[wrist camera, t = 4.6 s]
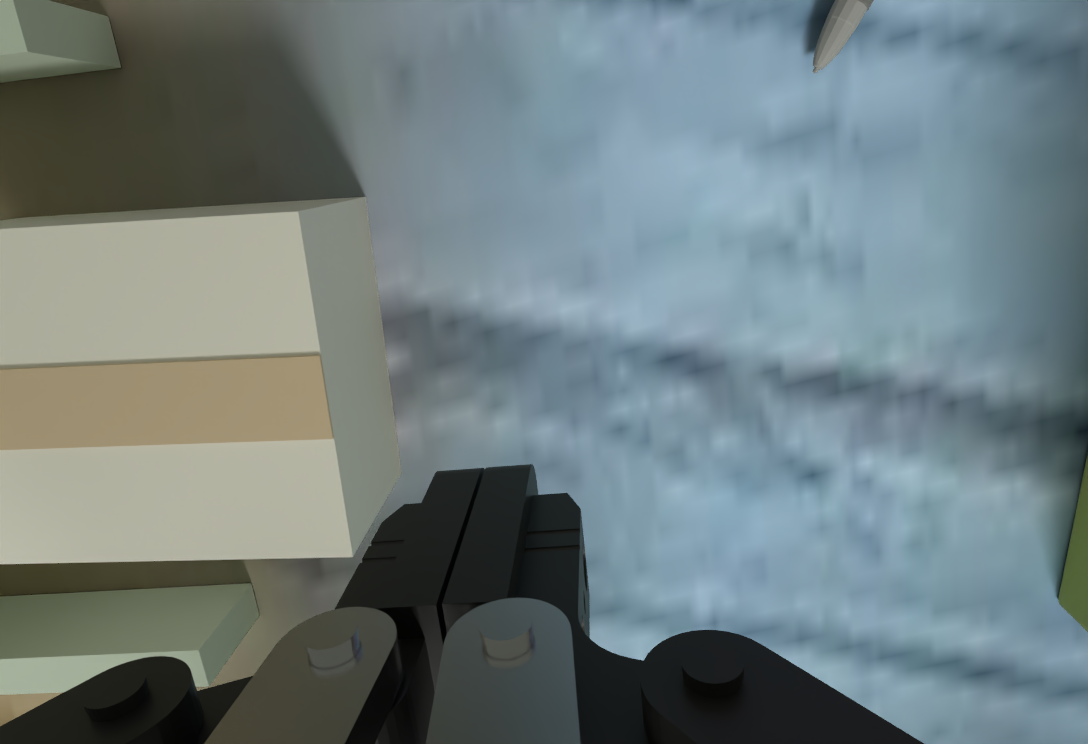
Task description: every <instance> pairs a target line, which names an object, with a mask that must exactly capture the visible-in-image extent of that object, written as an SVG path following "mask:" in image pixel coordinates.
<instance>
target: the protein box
mask: <svg viewBox="0 0 1088 744" xmlns="http://www.w3.org/2000/svg"><path fill="white" fill-rule="evenodd" d="M1058 600H1059V604H1060V605H1061V606H1062V607H1063V608H1064V609H1065V610H1066V611H1067V612H1068V613H1069V614H1070V615H1071V616H1072V617H1073V618H1074V619H1075V620H1076V621H1077V622H1078V623H1079V624H1080V625H1081V626H1082V627H1083V628H1084V629H1085V630H1086V631H1087V632H1088V454H1087V459H1086V464H1085V469H1084V474H1083V479H1082V484H1081V489H1080V494H1079V499H1078V504H1077V509H1076V514H1075V519H1074V524H1073V529H1072V533H1071V538H1070V544H1069V549H1068V554H1067V558H1066V563H1065V568H1064V574H1063V579H1062V583H1061V588H1060V593H1059V598H1058Z"/></svg>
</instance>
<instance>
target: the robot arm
mask: <svg viewBox="0 0 1088 744" xmlns="http://www.w3.org/2000/svg"><path fill="white" fill-rule="evenodd" d="M0 744H924V743H922V742H920V741H919V740H917V739H915V738H914V737H912V736H911V735H909V734H907V733H906V732H904V731H902V730H901V729H899V728H897V727H896V726H894V725H892V724H891V723H889V722H888V721H886V720H884V719H883V718H881V717H879V716H878V715H876V714H874V713H873V712H871V711H870V710H868V709H866V708H865V707H863V706H861V705H860V704H858V703H856V702H855V701H853V700H851V699H850V698H848V697H847V696H845V695H843V694H842V693H840V692H838V691H837V690H835V689H833V688H832V687H830V686H829V685H827V684H825V683H824V682H822V681H820V680H819V679H817V678H815V677H814V676H812V675H810V674H809V673H807V672H806V671H804V670H802V669H801V668H799V667H797V666H796V665H794V664H792V663H791V662H789V661H788V660H786V659H784V658H783V657H781V656H779V655H778V654H776V653H774V652H773V651H771V650H769V649H768V648H766V647H765V646H763V645H761V644H759V643H758V642H756V641H754V640H752V639H750V638H747V637H744V636H742V635H739V634H735V633H731V632H725V631H718V630H698V631H690V632H685V633H681V634H678V635H675V636H672V637H670V638H668V639H666V640H664V641H662V642H661V643H659V644H658V645H657V646H655V647H654V648H653V649H652V650H651V651H650V652H649V653H648V655H647V656H646V658H645V660H644V661H642V660H637V659H632V658H628V657H624V656H620V655H617V654H614V653H612V652H609V651H607V650H605V649H603V648H602V647H600V646H598V645H597V644H596V643H594V642H593V641H592V640H591V639H590V638H589V586H588V576H587V567H586V557H585V547H584V538H583V528H582V518H581V509H580V508H579V506H578V505H577V504H576V503H575V502H574V500H573V499H572V498H571V497H570V496H569V495H568V493H560V494H545V495H538V489H537V481H536V475H535V470H534V466H533V465H532V464H530V465H516V466H502V467H489V468H486V469H484V468H477V469H463V470H449V471H437V472H436V473H435V475H434V477H433V479H432V482H431V484H430V486H429V488H428V490H427V492H426V495H425V497H424V499H423V501H422V503H417V504H404V505H403V506H402V507H401V508H399V509H398V510H397V511H396V512H394V513H393V514H392V515H391V516H389V517H388V518H387V519H386V520H384V521H383V522H382V523H381V525H380V527H379V529H378V531H377V533H376V534H375V536H374V538H373V540H372V542H371V546H369V547H368V549H367V551H366V553H365V555H364V556H363V558H362V563H360V564H359V566H358V567H357V569H356V571H355V573H354V575H353V577H352V578H351V580H350V582H349V584H348V586H347V588H346V589H345V591H344V593H343V595H342V597H341V599H340V600H339V602H338V604H337V606H336V608H335V610H332V611H328V612H325V613H322V614H319V615H317V616H314V617H312V618H310V619H308V620H306V621H304V622H303V623H301V624H299V625H297V626H296V627H295V628H293V629H292V630H290V631H289V632H288V633H287V634H286V635H285V636H284V637H282V638H281V640H280V641H279V642H278V643H277V644H276V645H275V647H274V648H273V650H272V651H271V652H270V654H269V655H268V656H267V658H266V659H265V661H264V662H263V663H262V665H261V666H260V667H259V669H258V670H257V672H256V673H255V674H254V676H251V677H248V678H244V679H240V680H237V681H233V682H229V683H225V684H222V685H218V686H214V687H211V688H207V689H203V690H200V691H197V689H196V686H195V683H194V680H193V676H192V673H191V670H190V668H189V666H188V665H187V664H186V663H185V662H184V661H182V660H180V659H177V658H174V657H168V656H154V657H146V658H141V659H137V660H132V661H129V662H126V663H123V664H120V665H118V666H115V667H113V668H110V669H108V670H106V671H104V672H102V673H100V674H98V675H96V676H94V677H92V678H90V679H88V680H86V681H85V682H83V683H81V684H79V685H77V686H75V687H73V688H71V689H70V690H68V691H66V692H64V693H62V694H60V695H58V696H56V697H55V698H53V699H51V700H49V701H47V702H45V703H43V704H42V705H40V706H38V707H36V708H34V709H32V710H30V711H28V712H27V713H25V714H23V715H21V716H19V717H17V718H15V719H13V720H12V721H10V722H8V723H6V724H4V725H2V726H0Z"/></svg>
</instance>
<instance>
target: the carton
mask: <svg viewBox="0 0 1088 744" xmlns="http://www.w3.org/2000/svg"><path fill="white" fill-rule="evenodd" d="M401 474H402V471H401V464H400V456H399V448H398V441H397V433H396V425H395V418H394V410H393V402H392V394H391V387H390V379H389V371H388V364H387V356H386V348H385V341H384V333H383V325H382V318H381V310H380V302H379V295H378V287H377V279H376V272H375V264H374V256H373V249H372V241H371V233H370V226H369V218H368V210H367V203H366V197H353V198H336V199H319V200H303V201H286V202H270V203H253V204H236V205H220V206H203V207H187V208H170V209H154V210H137V211H120V212H104V213H87V214H71V215H54V216H37V217H23V218H15V219H7V220H0V564H38V563H87V562H137V561H186V560H235V559H284V558H333V557H353V556H354V554H355V553H356V551H357V549H358V547H359V546H360V544H361V542H362V541H363V539H364V537H365V535H366V534H367V532H368V530H369V529H370V527H371V525H372V523H373V522H374V520H375V518H376V517H377V515H378V513H379V511H380V510H381V508H382V506H383V505H384V503H385V501H386V499H387V498H388V496H389V494H390V493H391V491H392V489H393V487H394V486H395V484H396V482H397V481H398V479H399V477H400V475H401Z"/></svg>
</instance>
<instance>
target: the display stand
mask: <svg viewBox="0 0 1088 744" xmlns="http://www.w3.org/2000/svg"><path fill="white" fill-rule="evenodd" d="M116 68H121V65H120V61H119V57H118V53H117V49H116V45H115V41H114V37H113V33H112V29H111V25H110V21H109V17H108V16H105V15H101V14H98V13H94V12H90V11H87V10H83V9H79V8H75V7H72V6H68V5H64V4H61V3H57V2H53V1H50V0H0V83H3V82H11V81H19V80H27V79H35V78H43V77H51V76H59V75H67V74H75V73H83V72H91V71H99V70H107V69H116ZM258 617H259V612H258V608H257V604H256V600H255V596H254V592H253V588H252V584H251V583H245V584H226V585H207V586H189V587H170V588H151V589H133V590H114V591H95V592H77V593H58V594H39V595H21V596H2V597H0V695H6V694H31V693H56V692H66V691H68V690H70V689H71V688H73V687H75V686H77V685H79V684H81V683H83V682H85V681H86V680H88V679H90V678H92V677H94V676H96V675H98V674H100V673H102V672H104V671H106V670H108V669H110V668H113V667H115V666H118V665H120V664H123V663H126V662H129V661H132V660H137V659H141V658H146V657H154V656H168V657H174V658H177V659H180V660H182V661H184V662H185V663H186V664H187V665H188V666H189V668H190V670H191V673H192V676H193V680H194V683H195V686H196V687H206V686H210V684H211V683H212V681H213V680H214V679H215V677H216V676H217V674H218V673H219V672H220V670H221V669H222V667H223V666H224V665H225V663H226V662H227V660H228V659H229V658H230V656H231V655H232V653H233V652H234V651H235V649H236V648H237V646H238V645H239V644H240V642H241V641H242V639H243V638H244V636H245V635H246V634H247V632H248V631H249V629H250V628H251V627H252V625H253V624H254V622H255V621H256V620H257V618H258Z"/></svg>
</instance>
